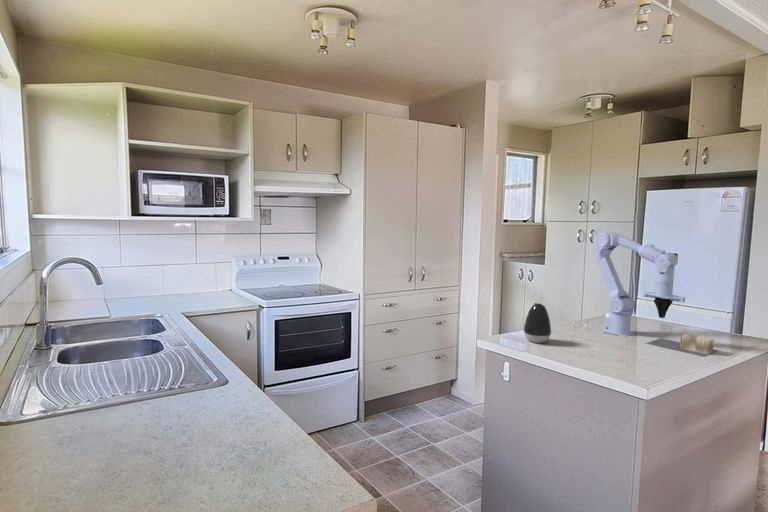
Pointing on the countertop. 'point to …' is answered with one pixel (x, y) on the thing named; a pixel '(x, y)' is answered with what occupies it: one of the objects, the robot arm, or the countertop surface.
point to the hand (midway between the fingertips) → (661, 317)
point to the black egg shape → (537, 324)
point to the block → (696, 343)
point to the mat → (675, 346)
